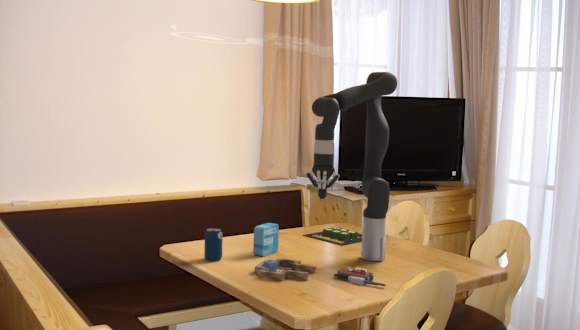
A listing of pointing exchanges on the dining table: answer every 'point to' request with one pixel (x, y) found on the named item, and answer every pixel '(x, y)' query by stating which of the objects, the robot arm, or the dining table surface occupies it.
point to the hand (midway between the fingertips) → (322, 198)
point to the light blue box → (266, 239)
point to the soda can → (213, 244)
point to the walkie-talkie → (357, 276)
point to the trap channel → (286, 270)
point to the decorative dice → (271, 265)
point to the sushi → (337, 236)
